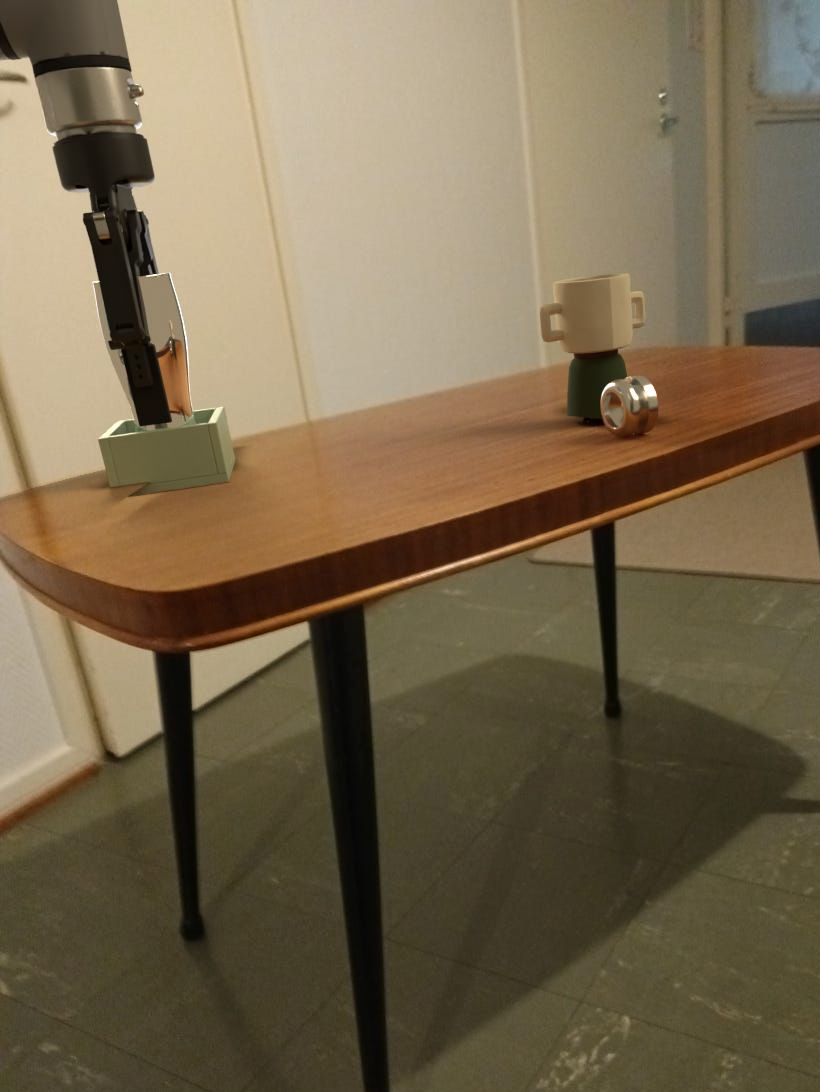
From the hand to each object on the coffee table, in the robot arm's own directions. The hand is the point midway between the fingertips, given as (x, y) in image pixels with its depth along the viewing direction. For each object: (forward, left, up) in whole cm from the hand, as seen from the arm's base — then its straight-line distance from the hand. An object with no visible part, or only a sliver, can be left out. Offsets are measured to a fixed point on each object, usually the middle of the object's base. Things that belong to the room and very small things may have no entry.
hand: (163, 416), depth 89 cm
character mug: (+40, +8, -6) cm, 41 cm away
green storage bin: (0, 0, -6) cm, 6 cm away
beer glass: (0, 0, -3) cm, 3 cm away
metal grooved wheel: (+42, -1, -6) cm, 42 cm away
